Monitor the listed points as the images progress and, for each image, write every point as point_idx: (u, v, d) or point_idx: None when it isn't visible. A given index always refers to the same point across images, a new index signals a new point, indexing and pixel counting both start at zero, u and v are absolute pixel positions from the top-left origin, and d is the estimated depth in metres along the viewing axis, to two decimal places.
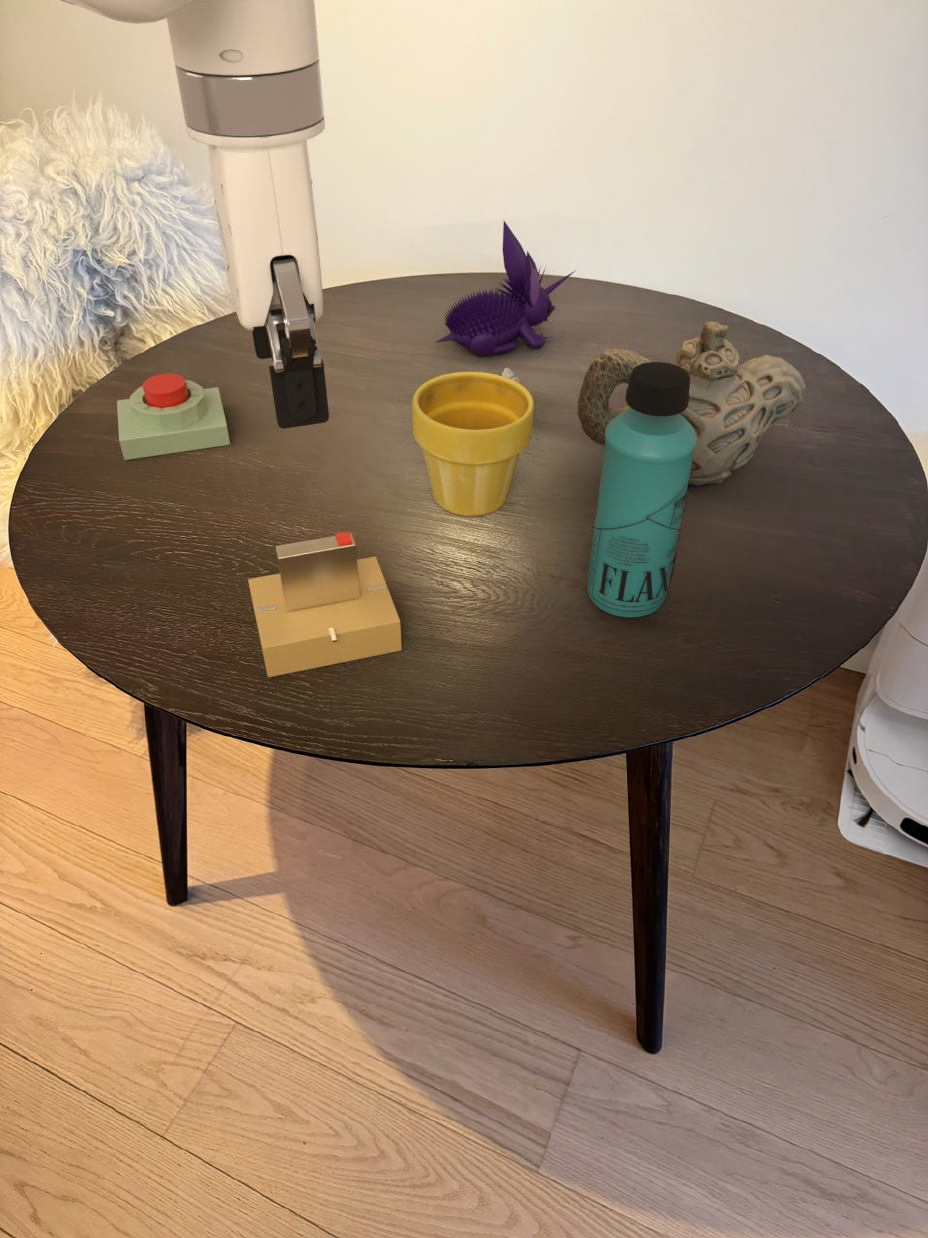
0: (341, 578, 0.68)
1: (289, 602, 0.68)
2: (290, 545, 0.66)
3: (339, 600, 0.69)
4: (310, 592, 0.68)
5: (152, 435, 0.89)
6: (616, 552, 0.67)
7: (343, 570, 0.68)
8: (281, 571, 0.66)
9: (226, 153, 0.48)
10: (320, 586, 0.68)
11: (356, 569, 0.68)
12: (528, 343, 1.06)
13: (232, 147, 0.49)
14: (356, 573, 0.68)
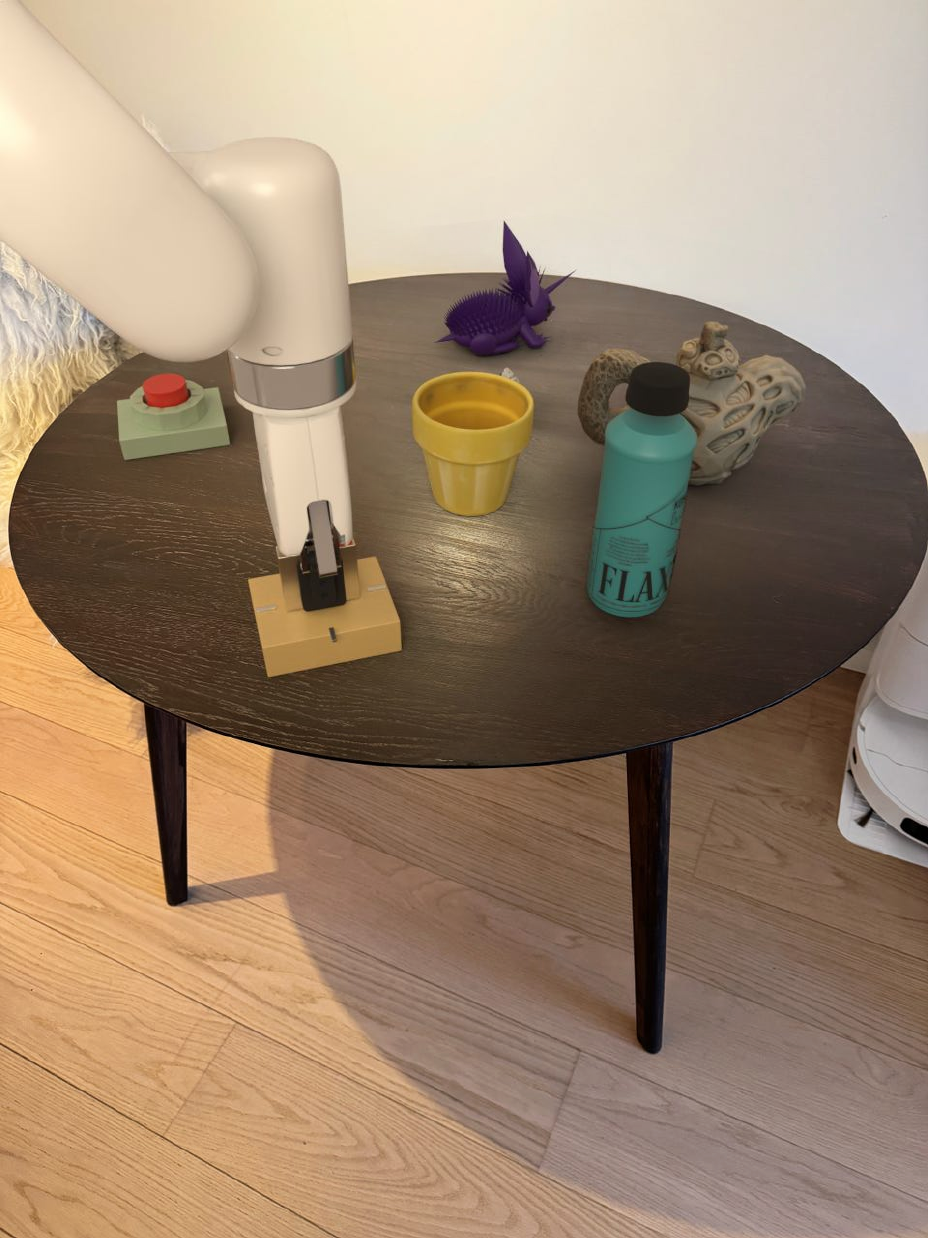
0: None
1: (289, 602, 0.68)
2: None
3: None
4: None
5: (152, 435, 0.89)
6: (616, 552, 0.67)
7: None
8: (281, 571, 0.66)
9: (271, 424, 0.55)
10: None
11: (356, 569, 0.68)
12: (528, 343, 1.06)
13: (275, 416, 0.55)
14: (356, 573, 0.68)
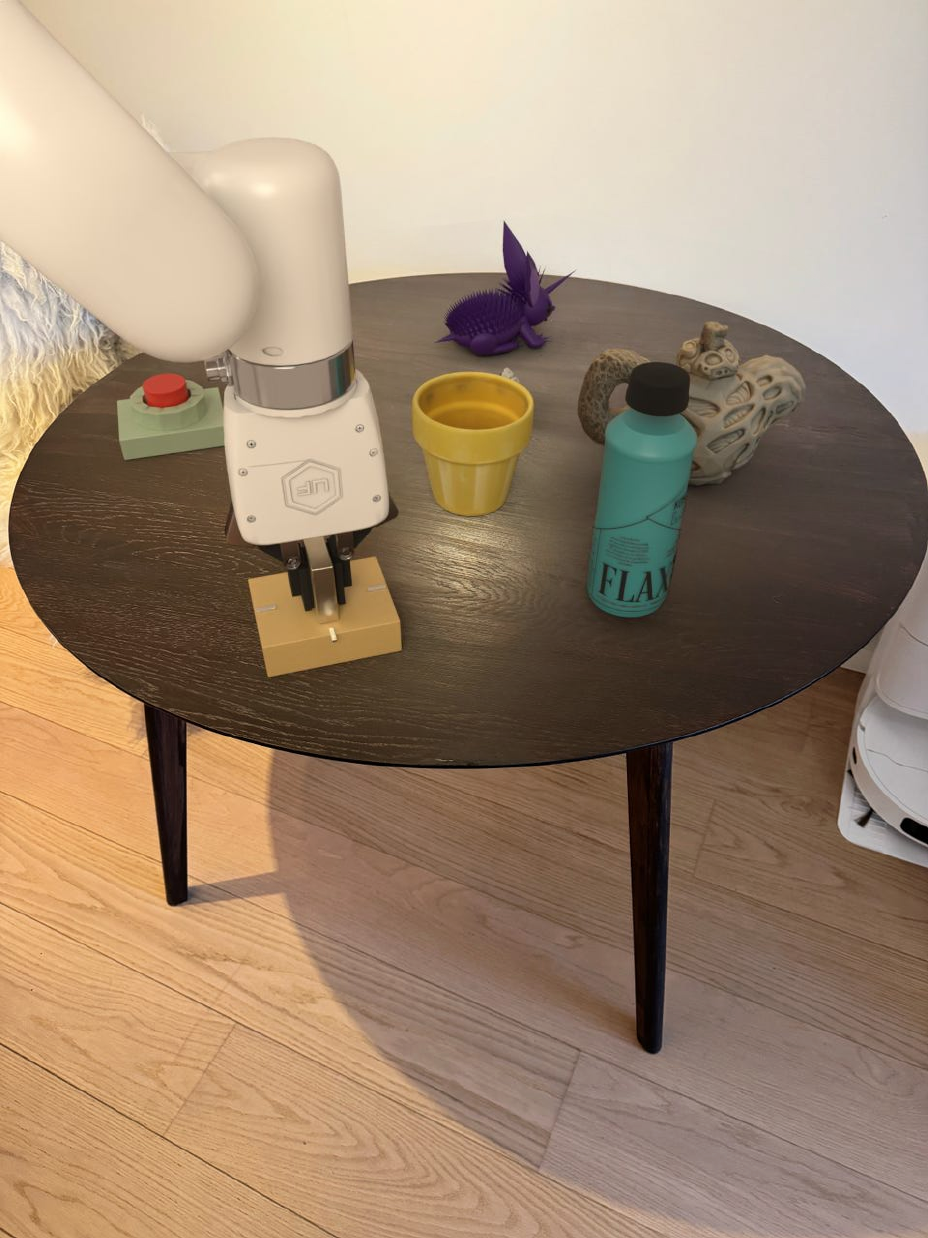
0: None
1: None
2: (313, 560, 0.65)
3: None
4: None
5: (152, 435, 0.89)
6: (616, 552, 0.67)
7: None
8: (334, 579, 0.65)
9: (365, 396, 0.58)
10: None
11: None
12: (528, 343, 1.06)
13: (353, 393, 0.58)
14: None
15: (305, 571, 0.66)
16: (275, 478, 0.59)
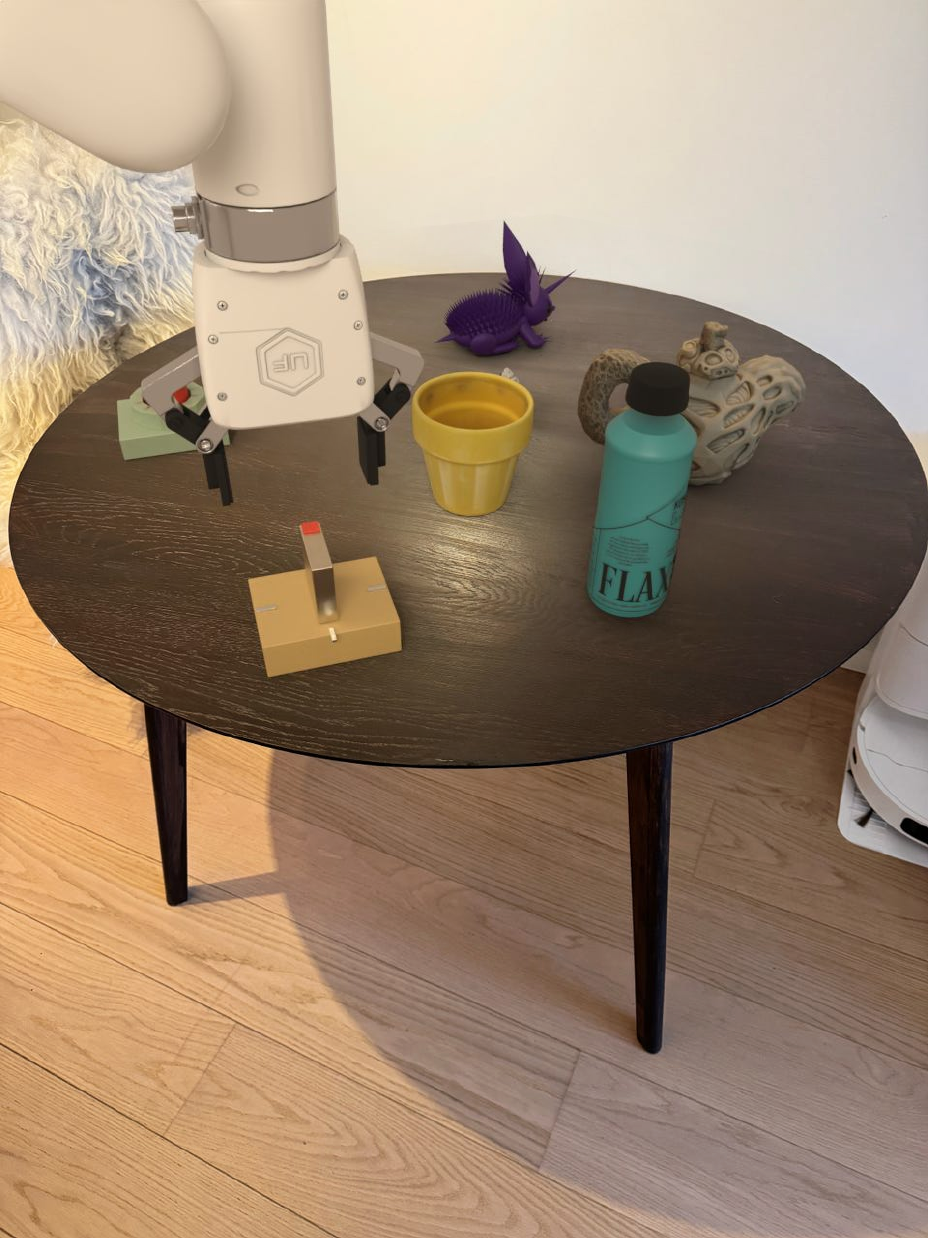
0: None
1: None
2: (313, 560, 0.65)
3: None
4: None
5: (152, 435, 0.89)
6: (616, 552, 0.67)
7: None
8: (334, 579, 0.65)
9: (350, 257, 0.52)
10: None
11: None
12: (528, 343, 1.06)
13: (337, 254, 0.52)
14: None
15: (221, 456, 0.58)
16: (249, 348, 0.53)
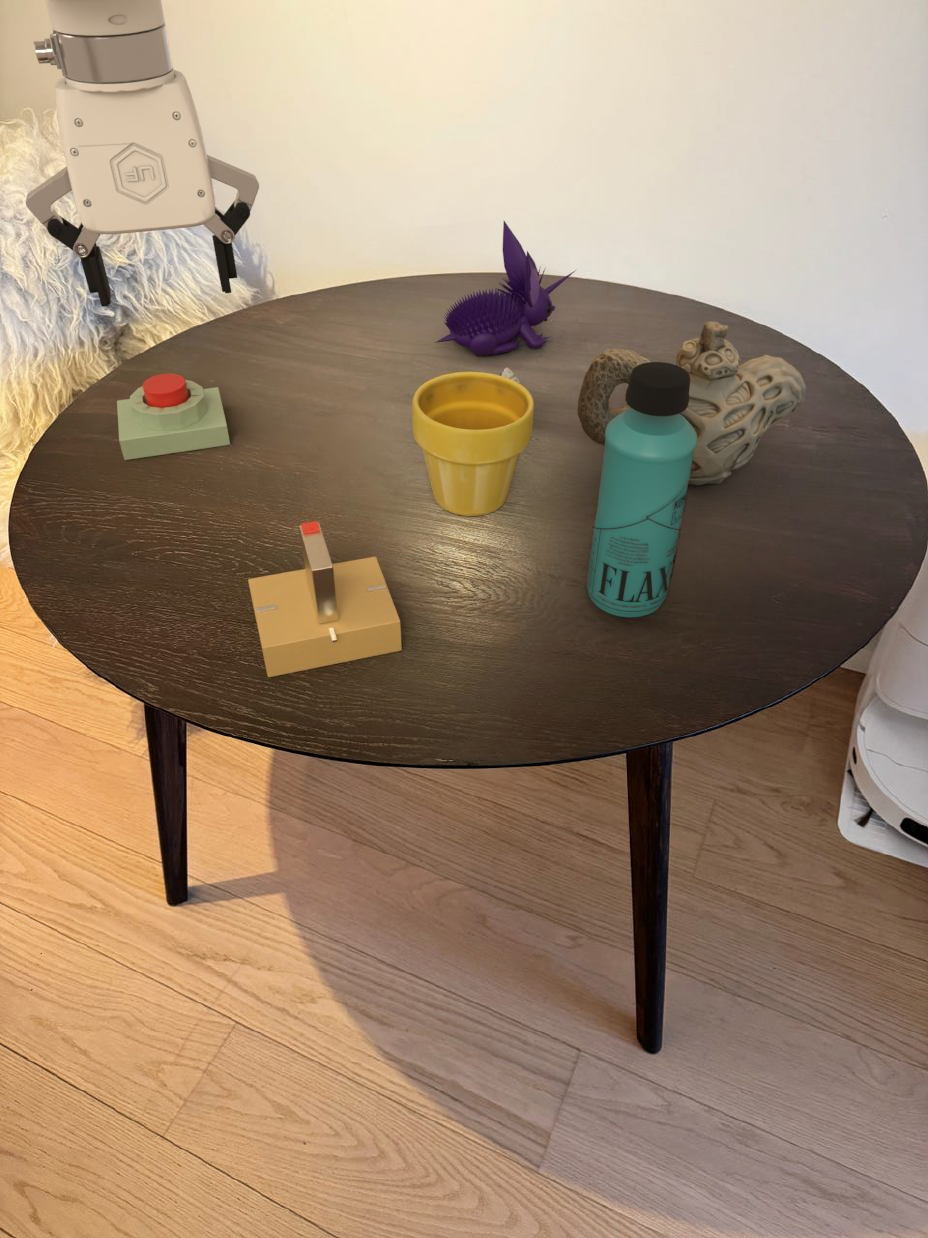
0: None
1: None
2: (313, 560, 0.65)
3: None
4: None
5: (152, 435, 0.89)
6: (616, 552, 0.67)
7: None
8: (334, 579, 0.65)
9: (179, 83, 0.66)
10: None
11: None
12: (528, 343, 1.06)
13: (169, 81, 0.66)
14: None
15: (94, 259, 0.73)
16: (104, 160, 0.68)
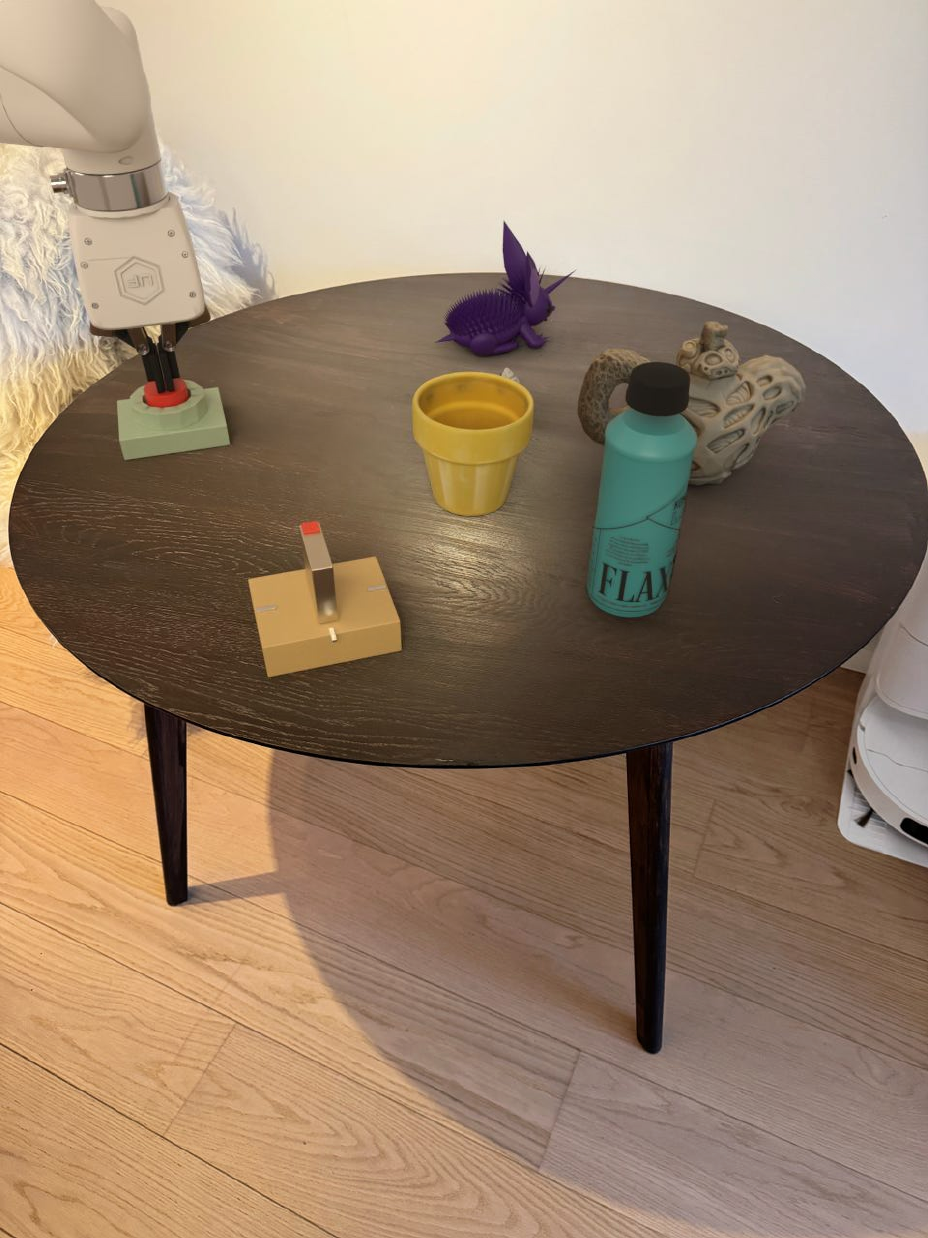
0: None
1: None
2: (313, 560, 0.65)
3: None
4: None
5: (152, 435, 0.89)
6: (616, 552, 0.67)
7: None
8: (334, 579, 0.65)
9: (173, 207, 0.78)
10: None
11: None
12: (528, 343, 1.06)
13: (164, 205, 0.78)
14: None
15: (153, 356, 0.86)
16: (109, 271, 0.79)
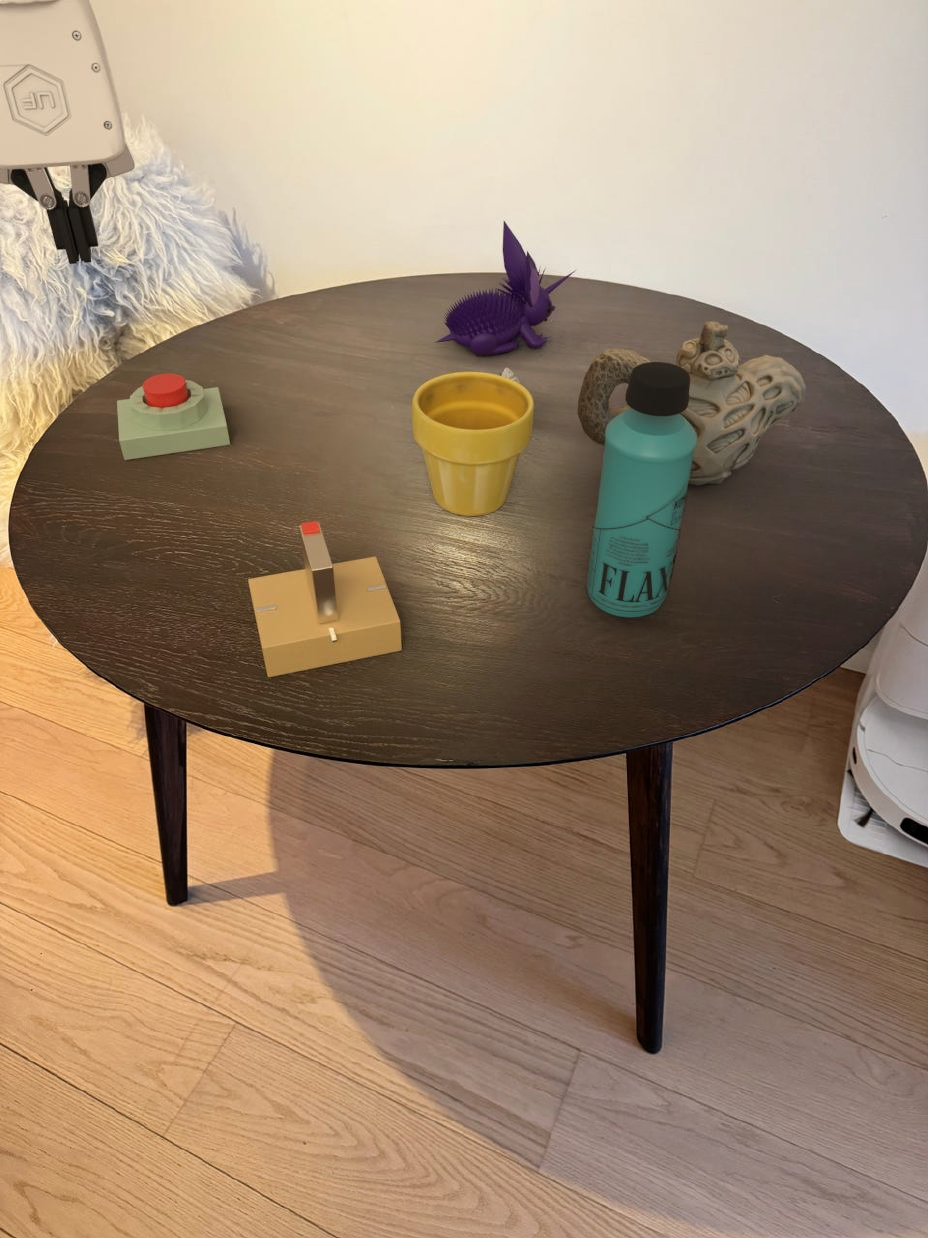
0: None
1: None
2: (313, 560, 0.65)
3: None
4: None
5: (152, 435, 0.89)
6: (616, 552, 0.67)
7: None
8: (334, 579, 0.65)
9: None
10: None
11: None
12: (528, 343, 1.06)
13: None
14: None
15: (61, 211, 0.68)
16: None
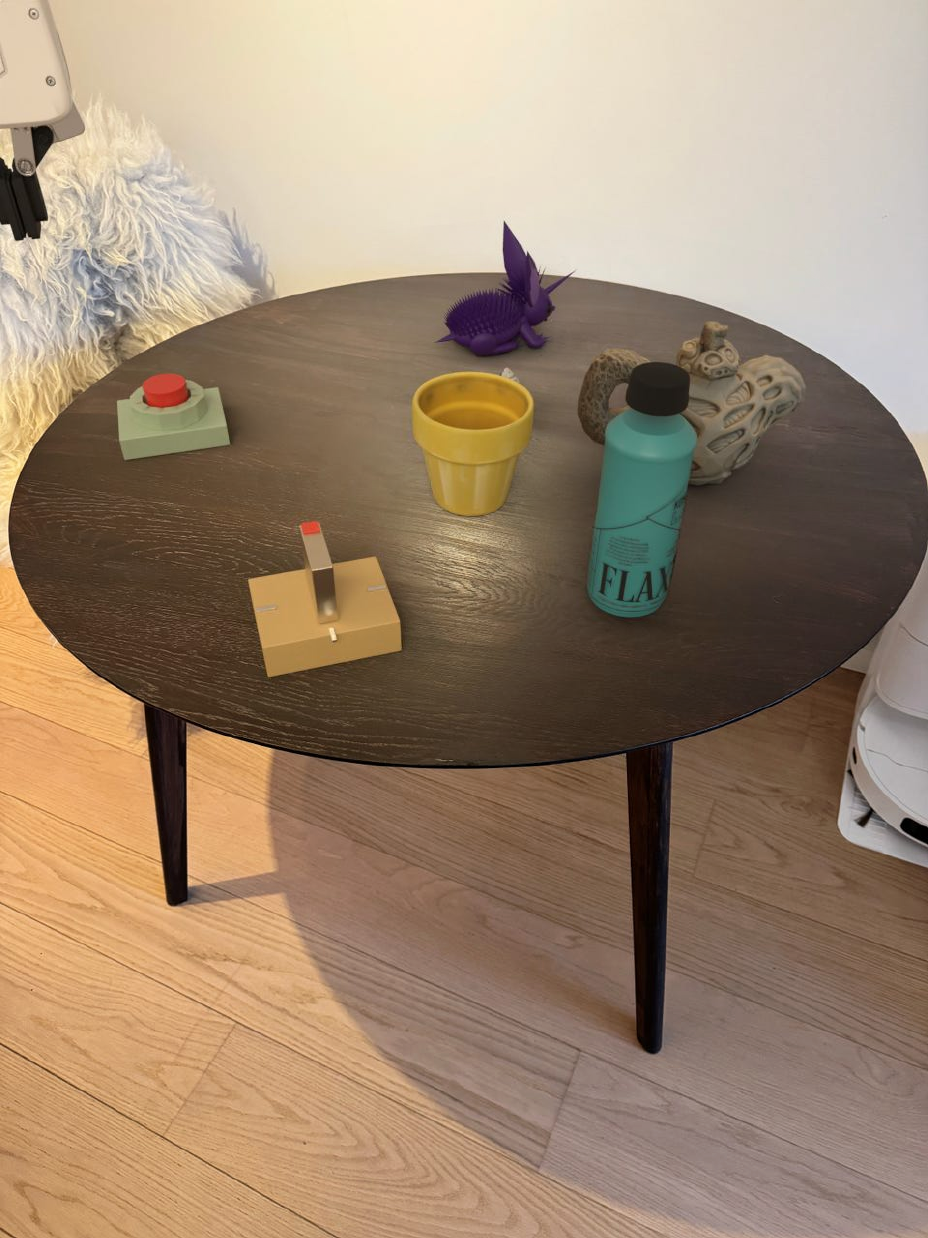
0: None
1: None
2: (313, 560, 0.65)
3: None
4: None
5: (152, 435, 0.89)
6: (616, 552, 0.67)
7: None
8: (334, 579, 0.65)
9: None
10: None
11: None
12: (528, 343, 1.06)
13: None
14: None
15: (3, 181, 0.61)
16: None
